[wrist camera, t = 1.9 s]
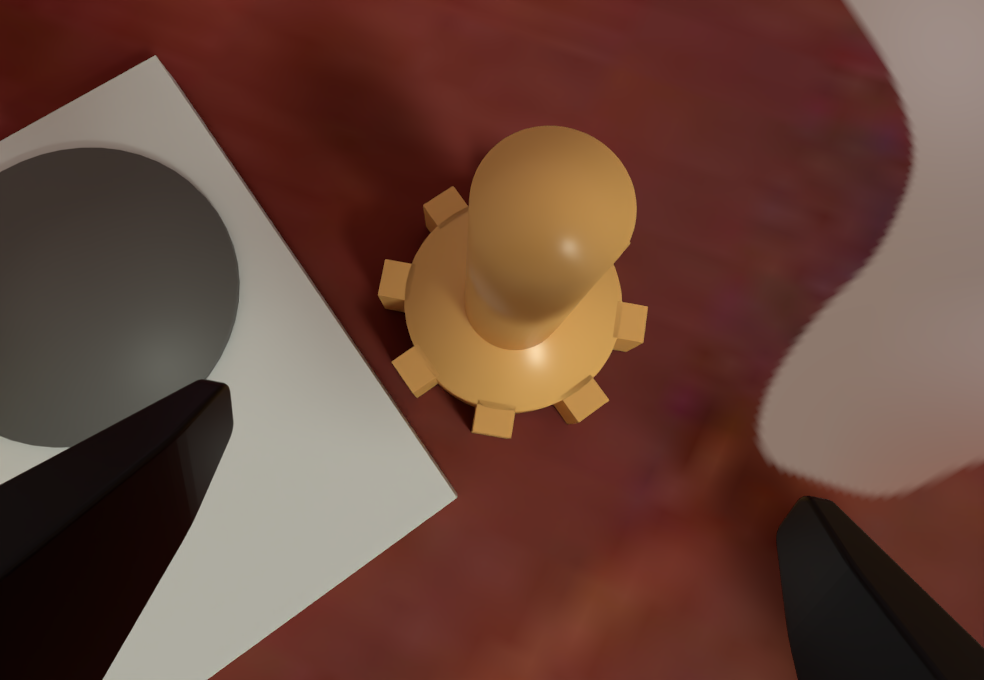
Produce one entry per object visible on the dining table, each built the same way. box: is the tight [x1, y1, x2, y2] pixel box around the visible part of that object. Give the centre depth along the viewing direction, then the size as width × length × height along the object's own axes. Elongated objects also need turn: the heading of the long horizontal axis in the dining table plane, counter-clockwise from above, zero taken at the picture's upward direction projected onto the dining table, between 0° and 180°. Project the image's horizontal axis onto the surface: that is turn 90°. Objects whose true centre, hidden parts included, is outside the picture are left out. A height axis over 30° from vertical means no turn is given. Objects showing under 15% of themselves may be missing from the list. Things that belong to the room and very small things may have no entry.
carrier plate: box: [0, 55, 457, 680], centre depth 18 cm, size 18×18×4 cm
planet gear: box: [378, 126, 648, 439], centre depth 16 cm, size 9×9×10 cm
